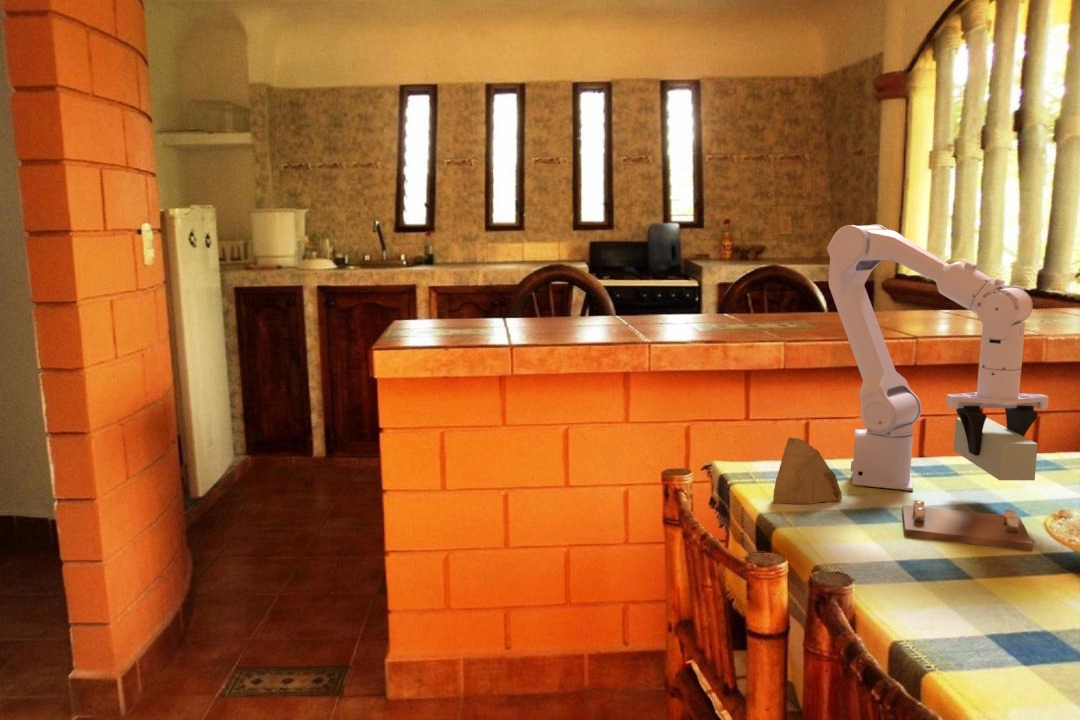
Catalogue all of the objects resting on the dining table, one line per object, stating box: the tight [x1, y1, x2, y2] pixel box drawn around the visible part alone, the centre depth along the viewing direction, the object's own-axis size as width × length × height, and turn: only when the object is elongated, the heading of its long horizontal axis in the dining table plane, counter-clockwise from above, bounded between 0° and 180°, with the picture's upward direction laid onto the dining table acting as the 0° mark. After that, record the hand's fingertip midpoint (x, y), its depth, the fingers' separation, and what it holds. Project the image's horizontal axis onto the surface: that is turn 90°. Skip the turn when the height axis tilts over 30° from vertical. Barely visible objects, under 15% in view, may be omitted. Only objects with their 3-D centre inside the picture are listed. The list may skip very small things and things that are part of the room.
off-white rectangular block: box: [953, 417, 1039, 481], centre depth 134 cm, size 16×5×6 cm, turn 177°
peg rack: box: [901, 499, 1034, 551], centre depth 126 cm, size 16×11×3 cm
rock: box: [772, 437, 843, 505], centre depth 138 cm, size 11×9×10 cm
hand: (992, 453), depth 134 cm, fingers closed on off-white rectangular block, 5 cm apart
